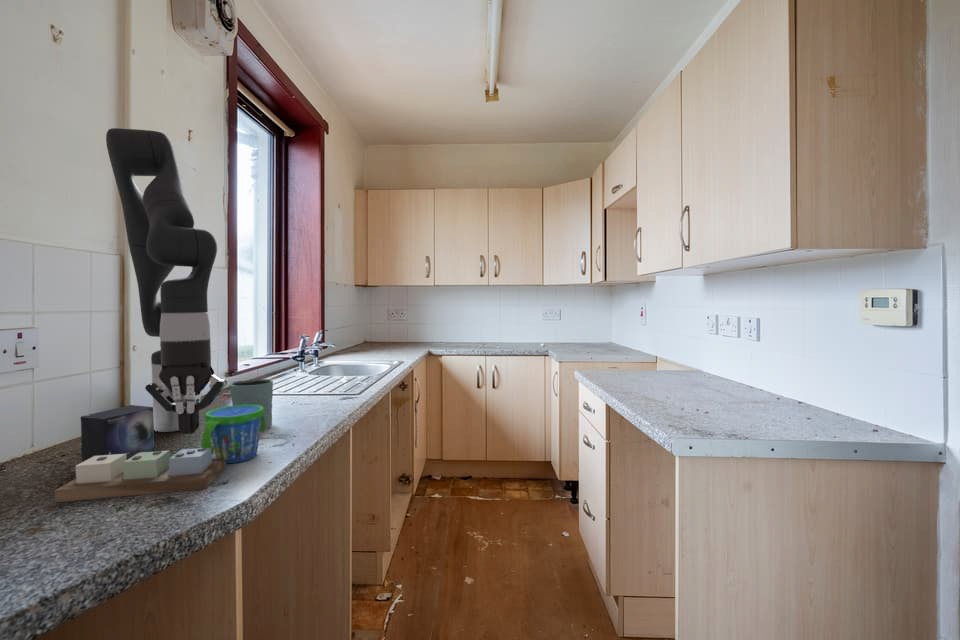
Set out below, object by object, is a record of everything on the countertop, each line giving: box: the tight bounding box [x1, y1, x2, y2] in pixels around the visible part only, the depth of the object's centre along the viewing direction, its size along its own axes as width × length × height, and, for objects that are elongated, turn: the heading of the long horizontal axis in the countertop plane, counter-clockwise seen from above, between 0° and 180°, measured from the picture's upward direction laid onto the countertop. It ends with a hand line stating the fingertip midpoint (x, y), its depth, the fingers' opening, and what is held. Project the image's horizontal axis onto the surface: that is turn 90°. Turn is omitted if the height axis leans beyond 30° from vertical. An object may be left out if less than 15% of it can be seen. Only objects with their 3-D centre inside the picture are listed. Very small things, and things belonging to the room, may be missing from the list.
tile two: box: [123, 450, 171, 480], centre depth 79 cm, size 5×5×4 cm
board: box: [54, 458, 226, 503], centre depth 79 cm, size 10×22×2 cm, turn 102°
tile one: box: [75, 454, 127, 484], centre depth 77 cm, size 5×5×4 cm
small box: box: [80, 404, 155, 463], centre depth 91 cm, size 11×6×10 cm, turn 168°
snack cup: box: [200, 405, 267, 464], centre depth 91 cm, size 16×10×10 cm
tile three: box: [169, 447, 213, 476], centre depth 80 cm, size 5×5×4 cm
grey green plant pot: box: [229, 378, 274, 429], centre depth 115 cm, size 10×10×12 cm
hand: (188, 432), depth 80 cm, fingers closed
